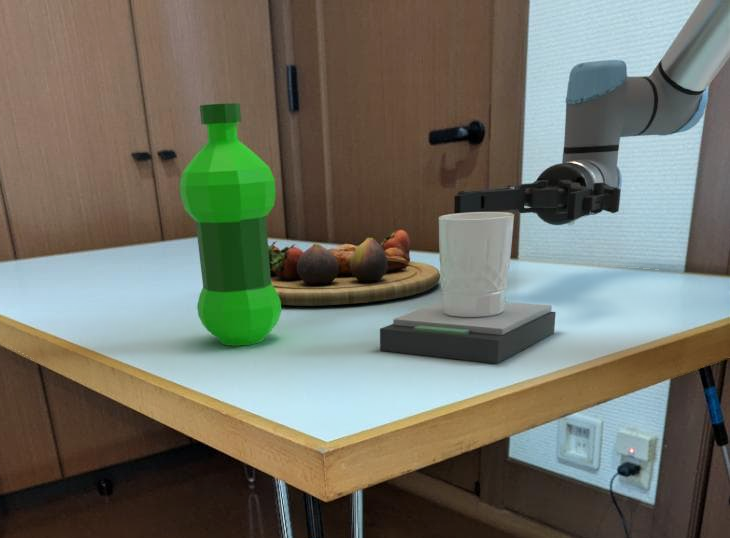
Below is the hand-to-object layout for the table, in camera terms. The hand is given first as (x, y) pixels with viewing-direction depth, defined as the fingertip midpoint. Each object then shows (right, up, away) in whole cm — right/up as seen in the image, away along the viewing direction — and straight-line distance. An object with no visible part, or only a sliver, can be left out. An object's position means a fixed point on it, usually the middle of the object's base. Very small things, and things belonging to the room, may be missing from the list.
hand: (512, 207), depth 92 cm
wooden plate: (-20, +1, +34) cm, 39 cm away
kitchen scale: (-5, -16, -2) cm, 17 cm away
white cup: (-5, -13, -3) cm, 14 cm away
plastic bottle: (-31, -14, +4) cm, 35 cm away
